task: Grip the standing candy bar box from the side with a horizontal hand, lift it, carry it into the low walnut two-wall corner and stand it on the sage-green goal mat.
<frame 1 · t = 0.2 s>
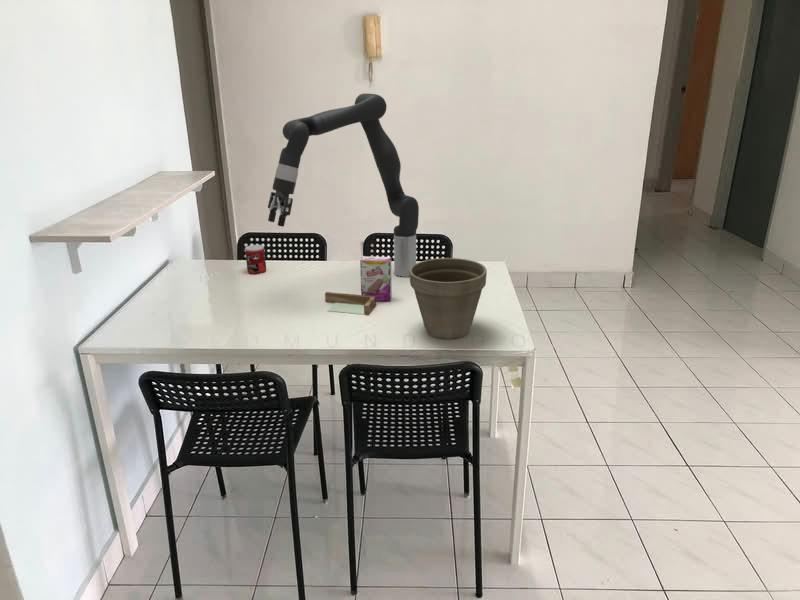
hand: (275, 223, 214), 31 cm above the table, tool tilted 20°, fingers open, 8 cm apart
brown l-shaped piece: (349, 308, 220), on the table
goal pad: (349, 308, 220), on the table
candy bar box: (376, 300, 228), on the table
canned food: (257, 272, 260), on the table
plant pot: (446, 330, 201), on the table
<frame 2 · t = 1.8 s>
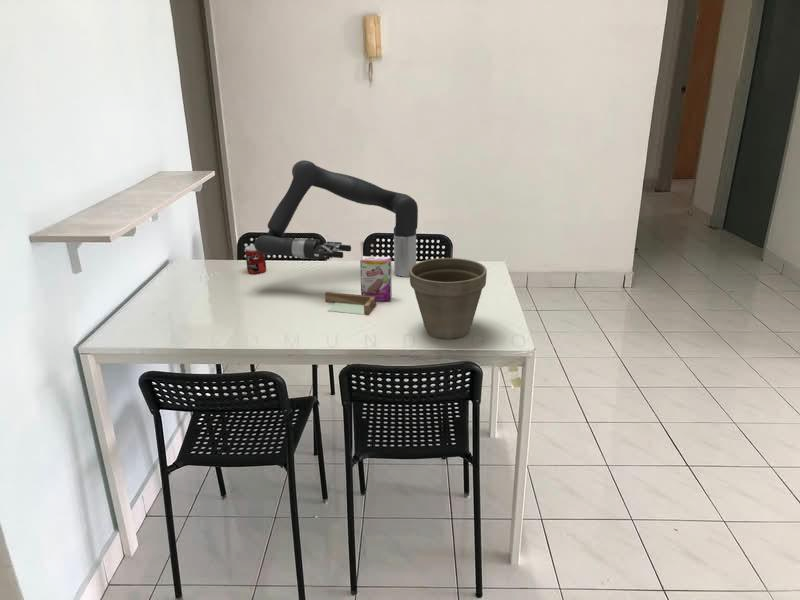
hand: (346, 251, 224), 18 cm above the table, tool horizontal, fingers open, 8 cm apart
nothing on the table moved.
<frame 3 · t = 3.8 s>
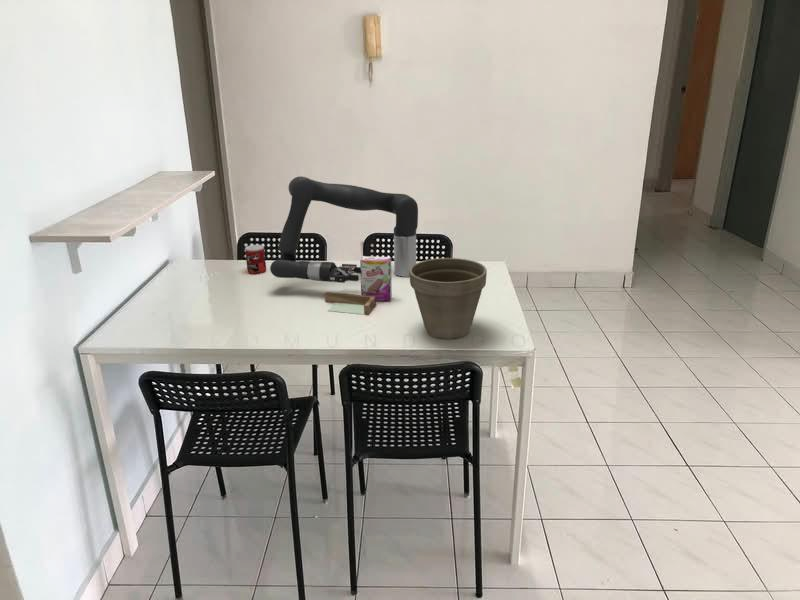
hand: (362, 274, 226), 10 cm above the table, tool horizontal, fingers open, 8 cm apart
nothing on the table moved.
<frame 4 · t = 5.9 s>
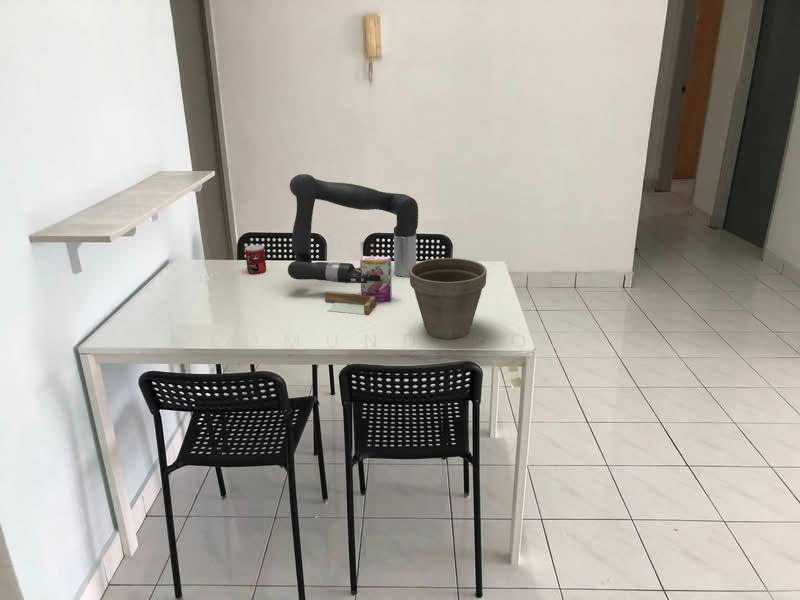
hand: (382, 275, 223), 10 cm above the table, tool horizontal, fingers closed on candy bar box, 5 cm apart
candy bar box: (376, 299, 228), on the table, touching gripper
everything else where it was.
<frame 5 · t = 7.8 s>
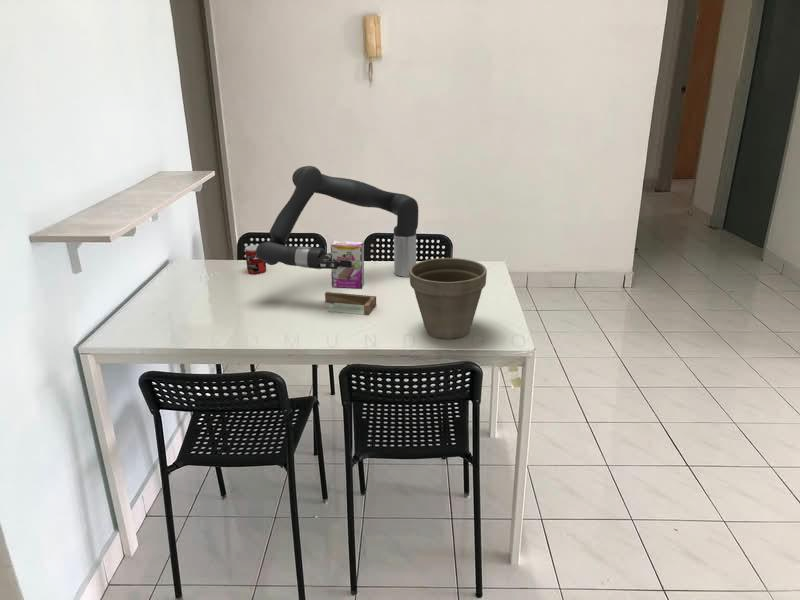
hand: (354, 261, 213), 18 cm above the table, tool horizontal, fingers closed on candy bar box, 5 cm apart
candy bar box: (348, 287, 217), point 8 cm above the table, touching gripper
everything else where it was.
when the fingers open (10 cm above the table, at t = 9.7 s): candy bar box stays where it is, resting on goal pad.
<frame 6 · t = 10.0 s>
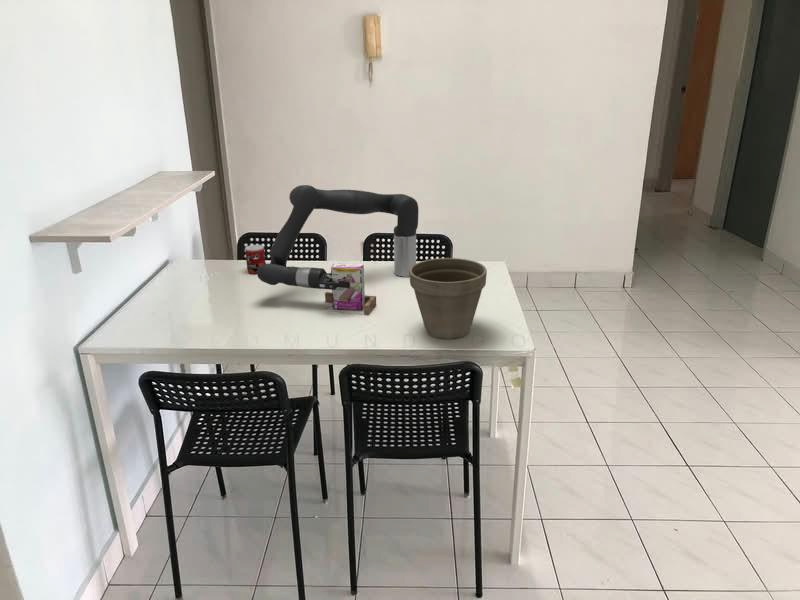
hand: (353, 281, 215), 11 cm above the table, tool horizontal, fingers open, 7 cm apart
candy bar box: (349, 308, 220), resting on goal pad
everything else where it was.
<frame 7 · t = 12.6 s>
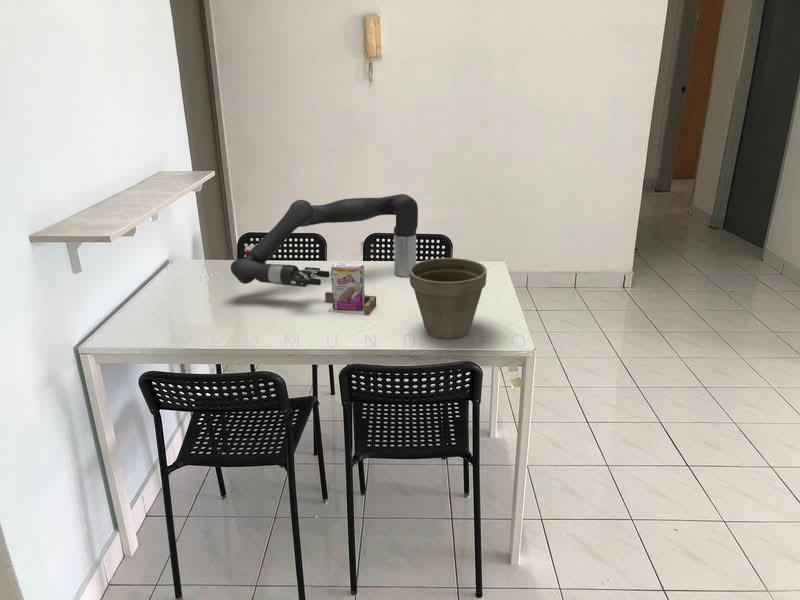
hand: (324, 278, 217), 11 cm above the table, tool horizontal, fingers open, 8 cm apart
nothing on the table moved.
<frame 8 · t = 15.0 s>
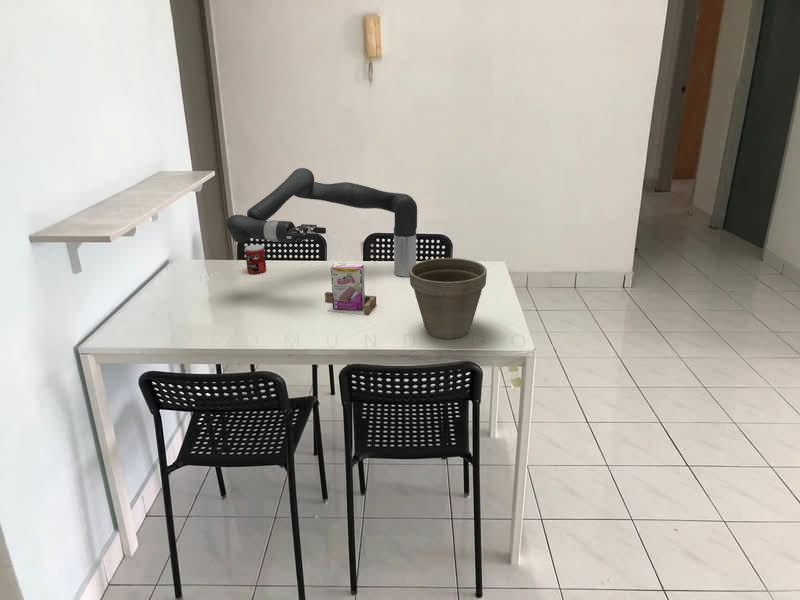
hand: (321, 233, 214), 27 cm above the table, tool horizontal, fingers open, 8 cm apart
nothing on the table moved.
at the end: candy bar box inside the target area on the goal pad (0.1 cm from its centre), point 0.0 cm above the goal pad's base; candy bar box tilted 0°; the gripper is holding nothing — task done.
